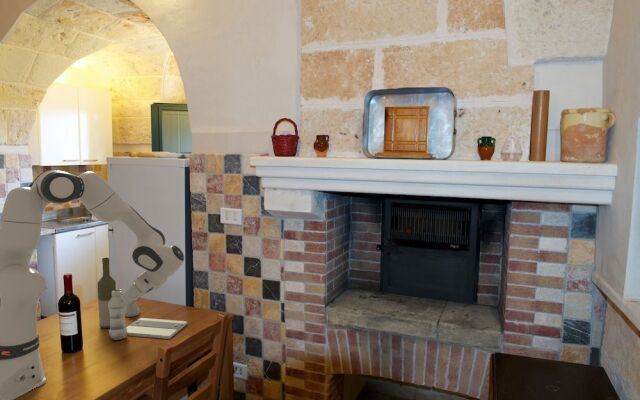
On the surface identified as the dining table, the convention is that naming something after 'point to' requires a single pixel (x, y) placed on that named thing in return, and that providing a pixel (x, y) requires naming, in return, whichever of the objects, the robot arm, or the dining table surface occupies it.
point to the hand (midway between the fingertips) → (130, 301)
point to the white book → (155, 328)
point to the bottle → (105, 294)
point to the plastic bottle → (117, 316)
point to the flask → (132, 309)
